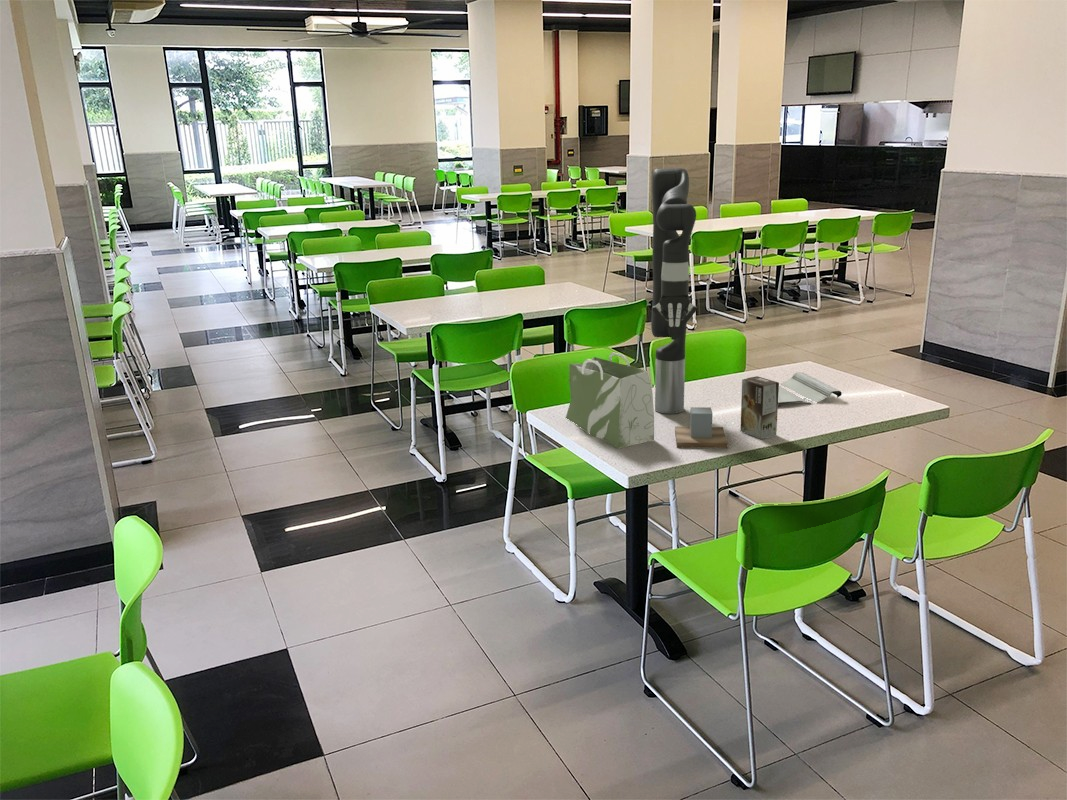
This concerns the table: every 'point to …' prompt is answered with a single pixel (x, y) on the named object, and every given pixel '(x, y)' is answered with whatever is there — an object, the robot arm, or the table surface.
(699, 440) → the flat brown square board
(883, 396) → the table surface
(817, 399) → the mat
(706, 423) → the slate grey cube
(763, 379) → the coffee box
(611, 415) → the grocery bag
